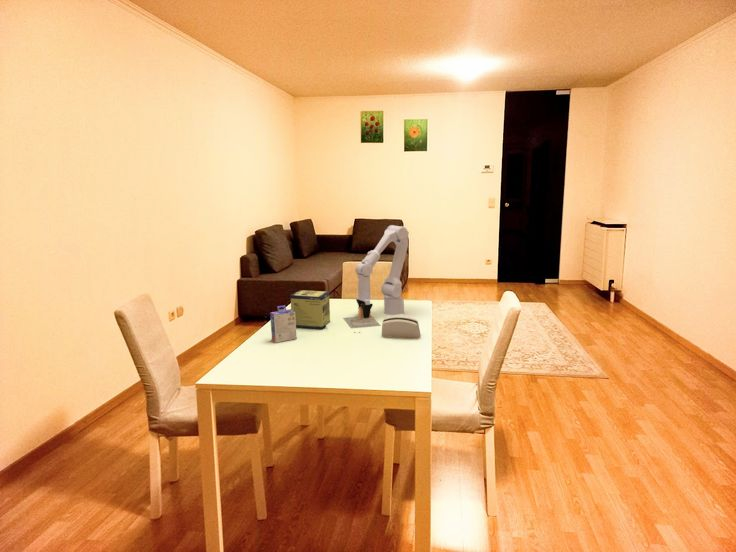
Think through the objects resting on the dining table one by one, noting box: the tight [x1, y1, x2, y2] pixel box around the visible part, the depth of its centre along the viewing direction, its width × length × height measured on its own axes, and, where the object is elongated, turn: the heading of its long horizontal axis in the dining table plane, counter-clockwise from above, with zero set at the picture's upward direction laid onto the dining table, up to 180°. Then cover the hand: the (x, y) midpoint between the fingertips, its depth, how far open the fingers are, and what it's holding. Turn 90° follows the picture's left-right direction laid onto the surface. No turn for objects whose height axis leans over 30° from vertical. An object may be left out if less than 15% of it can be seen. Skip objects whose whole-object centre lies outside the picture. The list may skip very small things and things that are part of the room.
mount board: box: [342, 315, 382, 329], centre depth 240 cm, size 14×18×1 cm
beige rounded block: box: [381, 315, 421, 339], centre depth 220 cm, size 17×5×10 cm, turn 79°
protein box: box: [290, 289, 331, 331], centre depth 237 cm, size 10×16×16 cm
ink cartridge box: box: [269, 304, 298, 343], centre depth 218 cm, size 10×6×14 cm, turn 121°
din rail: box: [350, 316, 378, 327], centre depth 236 cm, size 11×7×2 cm, turn 104°
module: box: [357, 306, 372, 318], centre depth 246 cm, size 5×4×5 cm
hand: (364, 315), depth 246 cm, fingers open, 7 cm apart
